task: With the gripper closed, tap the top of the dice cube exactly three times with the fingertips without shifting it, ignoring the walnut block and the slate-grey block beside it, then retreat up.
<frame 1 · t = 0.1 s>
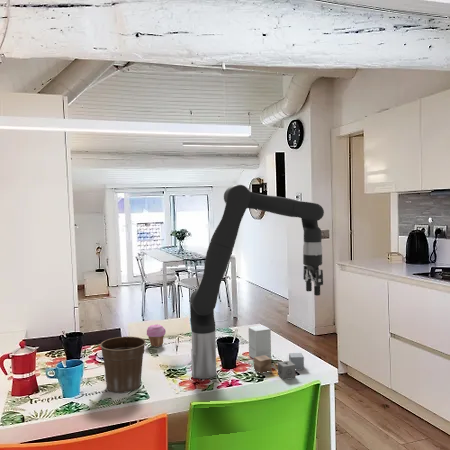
hand: (313, 293, 177), 29 cm above the table, fingers open, 8 cm apart
plant pot: (124, 386, 160), on the table
slate block: (296, 367, 176), on the table
supplement box: (259, 357, 188), on the table
walnut block: (262, 370, 173), on the table
cupcake: (156, 345, 207), on the table
dice cube: (286, 377, 167), on the table
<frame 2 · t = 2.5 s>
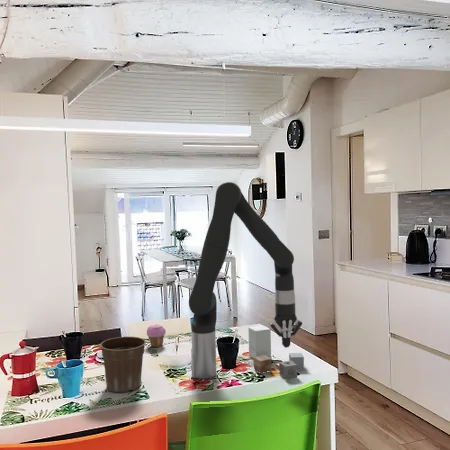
hand: (286, 346, 166), 11 cm above the table, fingers closed
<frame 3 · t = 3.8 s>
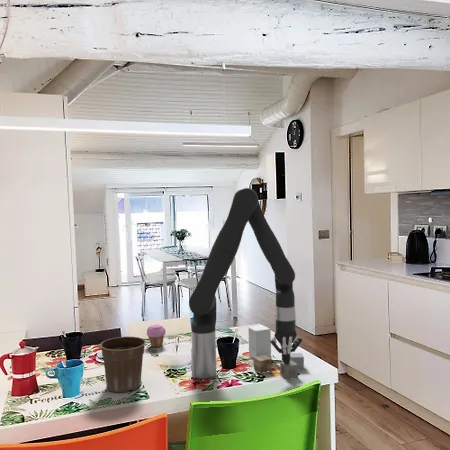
hand: (286, 363, 166), 5 cm above the table, fingers closed
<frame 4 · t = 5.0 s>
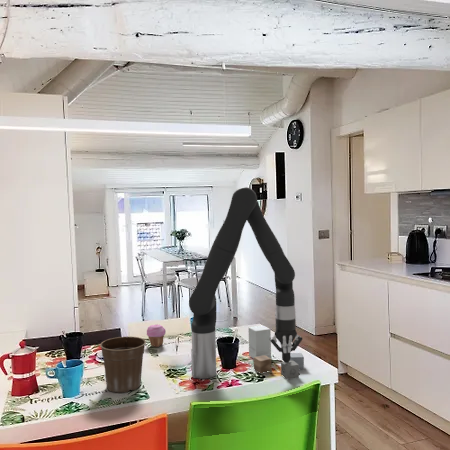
hand: (286, 361, 166), 6 cm above the table, fingers closed
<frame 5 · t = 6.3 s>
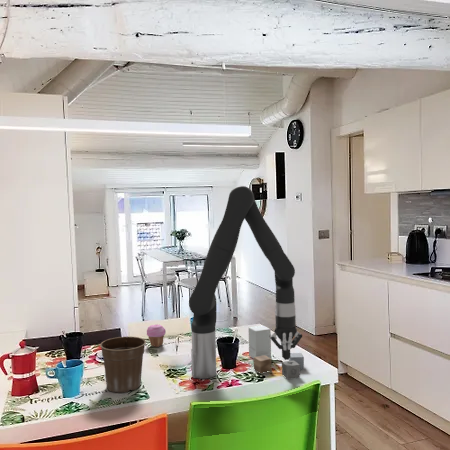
hand: (286, 359, 166), 7 cm above the table, fingers closed
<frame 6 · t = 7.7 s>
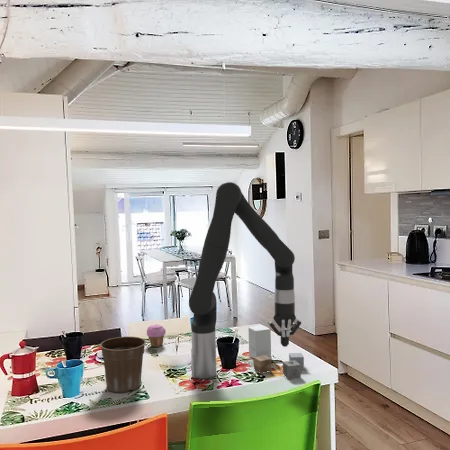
hand: (284, 345, 167), 11 cm above the table, fingers closed
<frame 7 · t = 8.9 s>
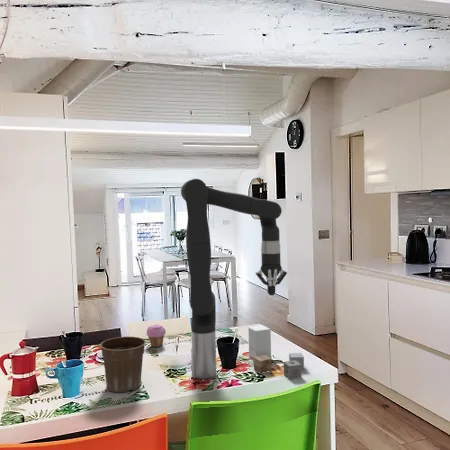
hand: (271, 295, 176), 29 cm above the table, fingers closed
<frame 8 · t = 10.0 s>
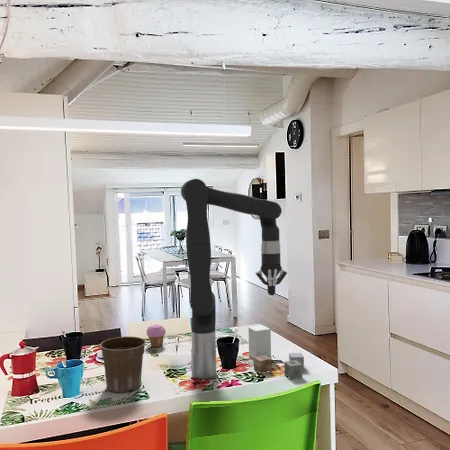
hand: (271, 295, 176), 29 cm above the table, fingers closed
at the end: dice cube moved 2.8 cm from its start; dice cube tilted 0°; dice cube inside the target area (2.7 cm from its centre), on the table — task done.
